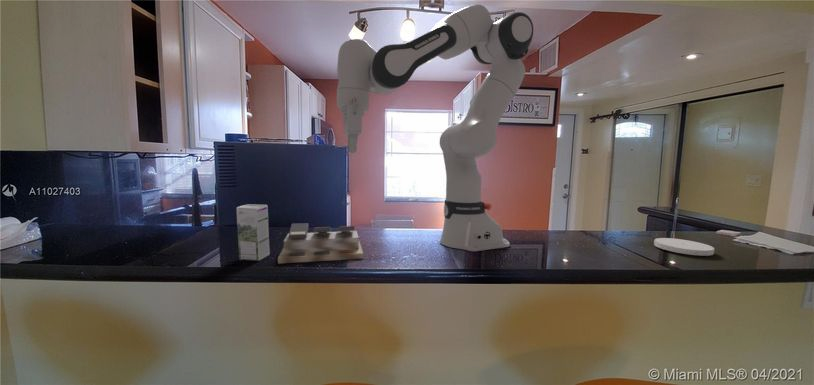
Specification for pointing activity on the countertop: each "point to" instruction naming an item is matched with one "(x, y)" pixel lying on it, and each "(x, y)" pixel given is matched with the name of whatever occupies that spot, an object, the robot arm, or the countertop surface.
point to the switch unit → (322, 247)
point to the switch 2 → (346, 228)
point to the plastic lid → (684, 246)
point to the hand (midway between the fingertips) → (351, 152)
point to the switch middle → (321, 229)
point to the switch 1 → (298, 230)
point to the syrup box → (253, 232)
